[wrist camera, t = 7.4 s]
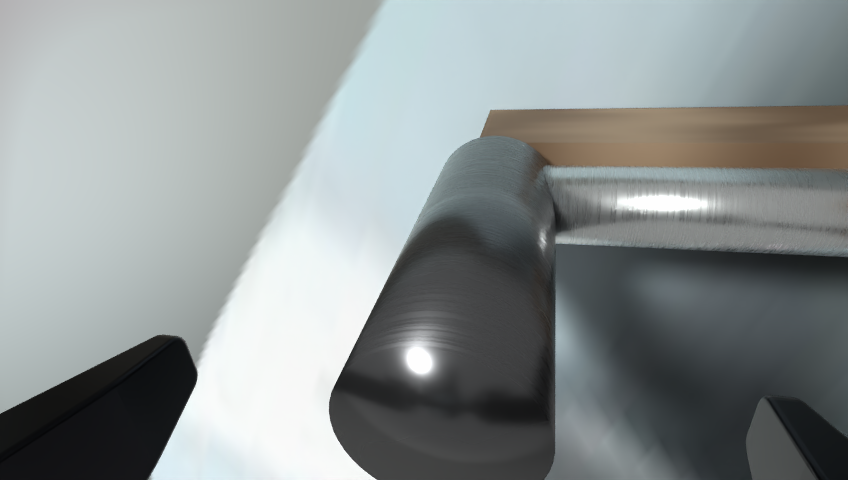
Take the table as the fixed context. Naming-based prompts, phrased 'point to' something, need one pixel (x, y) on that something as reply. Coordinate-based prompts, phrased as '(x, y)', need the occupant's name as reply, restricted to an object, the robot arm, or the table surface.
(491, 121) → the wooden mallet
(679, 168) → the door handle
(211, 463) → the table surface
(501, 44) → the table surface
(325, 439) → the table surface
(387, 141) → the table surface
